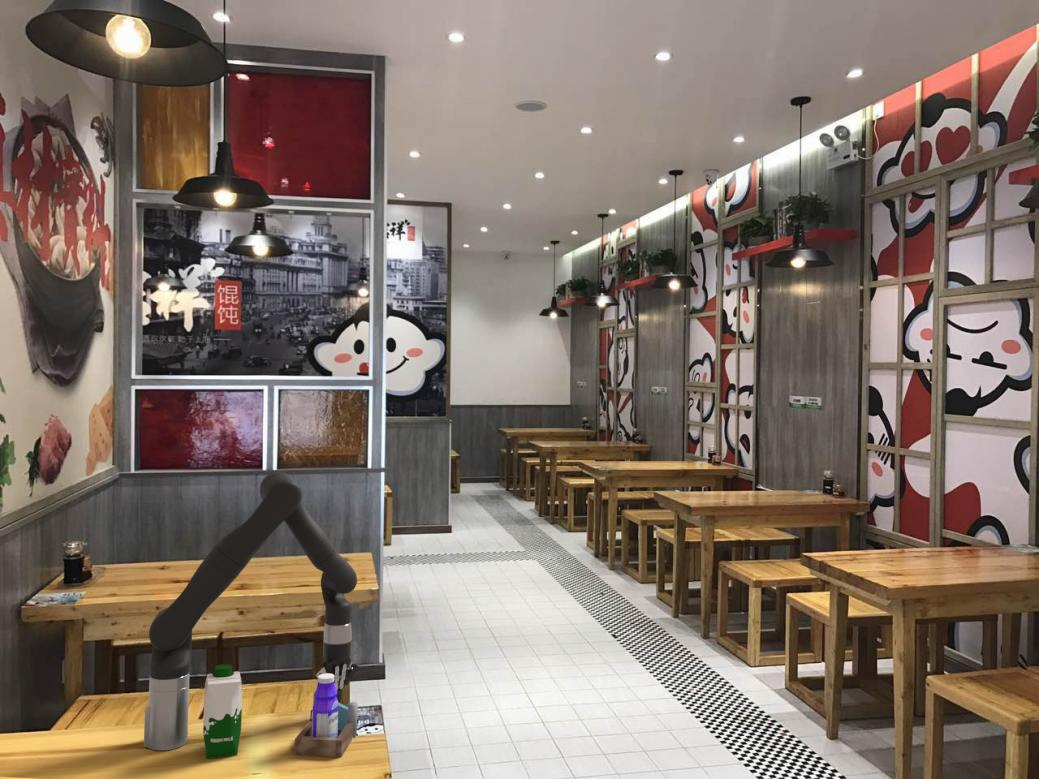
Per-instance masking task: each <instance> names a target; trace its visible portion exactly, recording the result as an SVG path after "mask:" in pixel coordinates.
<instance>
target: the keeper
mask: <svg viewBox="0 0 1039 779" xmlns="http://www.w3.org/2000/svg"><path fill="white" fill-rule="evenodd" d="M312 697H313V702H312V703H314V700H315V696H314V695H313V696H312ZM347 723H353V738H354V737H356V736H357V733H358V732H357V731H358V730H357V728H358V702H354V701H352V702H351V701H350V702H348V703H347V705H344V704H343V703H341V702H340V703H338V730H339V731H342V730H343V729H344V727H345V726H346V724H347Z"/></svg>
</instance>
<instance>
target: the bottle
mask: <svg viewBox="0 0 1039 779" xmlns="http://www.w3.org/2000/svg"><path fill="white" fill-rule="evenodd" d="M336 695H337V690H336V688H335V685H334V675H333V674H330V673H325V674H321V675H319V676H318V678H317V686H316V689H315V691H314V693H313V697H314V696H315V700H314V703H313V702H312V703H313V704H312V709H311V711H312V718H311V721H312V737H330V738H338V736H339V735H338V734H339V733H338V732H339V729H338V700H337V697H336Z"/></svg>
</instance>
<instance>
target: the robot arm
mask: <svg viewBox="0 0 1039 779" xmlns="http://www.w3.org/2000/svg"><path fill="white" fill-rule="evenodd" d="M259 486H260V487H259V493H260V494H259V495H260V498H261V499H262V501H261V502H260V504H259V505H258V507H256V509H255V510H254V511H253V513H251V515H250V516H249V518H247V520H245V521H244V522H243V523H242V524H240V525H238V526H237V527H236V528H234V529H232V530H231V531H229V532H228V533H227V534H225V535H224V536H222V538H220V539H219V540H218V541H217V543H216V544H215V545H214V546H213V548H212V549H211V550H210V551H209V553H208V554H207V555H206V556H205V557H204V559H203V560H202V561H201V563H200V565H199V566H198V567H197V569H196V571H195V572H194V573H193V575H192V576H191V578H190V579H189V582H188V583H187V585H186V586H185V588H184V589H183V590H182V592H181V593H180V594H179V596H178V597H176V599H175V600H173V602H172V603H171V604H170V605H169V606H168V607H165V608H164V609H162V610H161V611H159V612H158V614H157V615H156V616H155V618H154V619H153V621H151V624H150V627H149V631H148V636H149V642H150V644H151V645H152V651H151V658H150V665H149V682H148V683H149V684H148V705H147V706H146V707H145V708H144V709H145V710H144V726H143V728H144V731H143V732H144V733H143V748H147V749H149V750H153V751H170V750H174V749H178V748H181V747H182V746H184V745H185V744H187V743H188V739H189V706H190V704H189V700H190V674H191V671H190V670H191V669H190V667H191V658H192V647H193V644H192V643H193V629H194V628H195V626H196V624H197V623H198V622H199V621H200V620H201V617H202V616H203V614H204V613H205V612H206V610H207V609H208V608H209V607H210V606H211V605H212V604H213V603H214V602H215V601H216V600H218V599H219V597H220V596H221V595H222V594H223V593H224V592H225V591H226V590H227V589H228V588H229V586H230V585H232V583H233V582H234V581H235V580H236V579H237V578H238V576H239V575H240V574H241V572H242V571H243V570H244V569H245V568H246V567H247V565H248V564H249V563H250V561H251V560H252V559H253V557H254V556H255V555H256V554H257V553H258V551H259V550H260V549H261V548H262V546H263V545H264V544H265V542H266V541H267V540H268V539H269V537H270V536H272V534H273V533H274V532H275V531H276V530H277V529H278V527H280V526H281V524H283V523H285V524H286V525H287V527H288V529H290V532H291V533H292V534H293V536H294V538H295V539H296V541H297V543H298V545H299V546H300V548H301V549H302V550H303V551H302V552H304V554H305V555H306V558H308V560H309V561H310V563H311V564H312V566H314V567H315V568H316V569H317V570H319V571H321V572H322V573H321V577H320V587H321V594H322V598H323V604H324V607H325V611H324V628H323V641H322V642H323V648H322V651H323V652H322V656H323V657H322V658H323V663H322V665H321V666H322V668H321V669H320V670H319V671H315V673H314V675H315V677H316V678H317V679H318V676H319V675H321V674H325V673H330V674H333V675H334V685H335V688H336V690H337V695H336V697H337V700H338V703H340V704H341V701H342V699H343V688H344V687H345V686H348V685H349V683H350V682H351V679H352V678H353V677H354V675H355V673H356V672H357V670H358V668H359V666H358V664H356V663H354V662H352V658H351V656H352V636H353V635H352V634H353V633H352V604H351V602H350V601H349V600H348V599H346V597H345V594H346V595H347V594H349V593H351V592H353V591H354V590H355V588H356V587H357V584H358V577H357V573H356V571H355V569H354V568H353V567H352V565H351V564H350V563H349V562H348V561H347V560H345V558H344V557H343V556H342V555H341V554H339V552H338V551H337V550H336V548H335V547H334V545H333V544H332V542H331V541H330V539H329V538H328V537H327V535H326V534H325V532H324V531H323V530H322V528H321V527H320V526H319V525H318V524H317V522H316V521H315V519H314V518H313V517H312V515H310V513H309V512H308V510H307V509H306V507H305V506H304V503H303V502H302V497H303V493H302V489H301V487H300V485H299V484H298V482H296V481H295V479H294V478H292V476H290V474H287V473H286V472H282V471H274V472H270V473H269V474H267V475H265V476H264V478H263V479H262V481H261V483H260V485H259Z"/></svg>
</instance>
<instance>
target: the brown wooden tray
mask: <svg viewBox="0 0 1039 779" xmlns="http://www.w3.org/2000/svg"><path fill="white" fill-rule="evenodd" d="M352 738H353V739H354V737H353V723H347V724H346V726H345V727H344V729H343V730H341V732H340V733H339V735H338V738H330V737H312V720H311V721H310V720H309V721H307V723H306V725H305V726H304V727H303V728H302V729H301V731H300V732H299V733H298V734H297V735H296V737H295V738H294V756H305V757H306V756H307V757H309V756H310V757H325V758H326V757H329V758H342V757H343V755H344V754H345V752H346V751H347V749H348V747H349V746H350V744H351V743H352V741H353V740H352ZM351 740H352V741H351ZM350 742H351V743H350ZM348 745H349V746H348Z"/></svg>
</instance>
